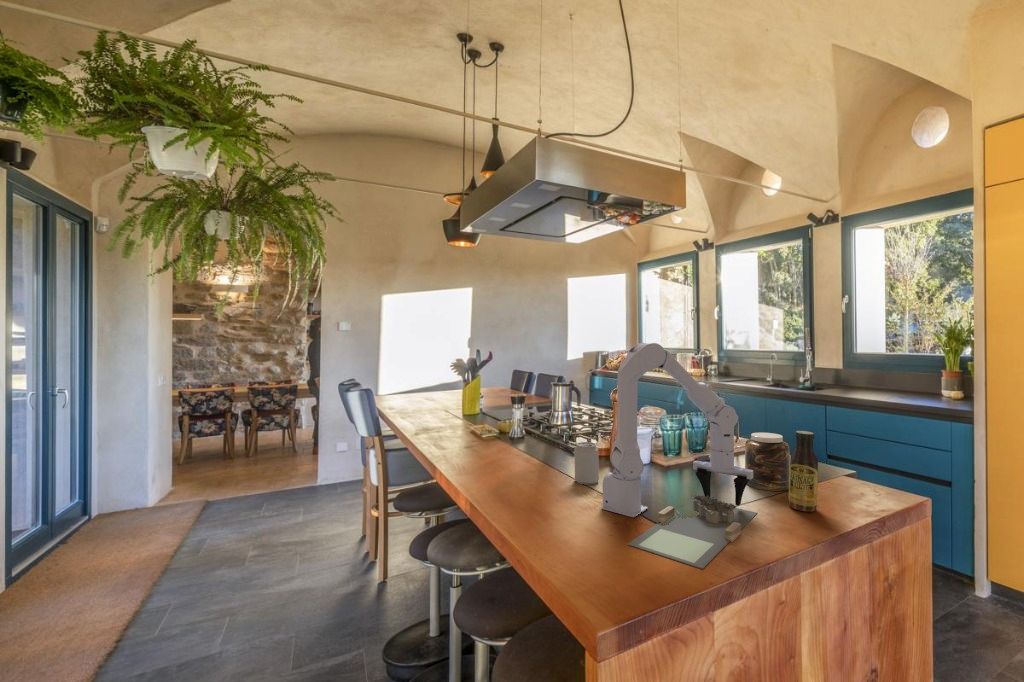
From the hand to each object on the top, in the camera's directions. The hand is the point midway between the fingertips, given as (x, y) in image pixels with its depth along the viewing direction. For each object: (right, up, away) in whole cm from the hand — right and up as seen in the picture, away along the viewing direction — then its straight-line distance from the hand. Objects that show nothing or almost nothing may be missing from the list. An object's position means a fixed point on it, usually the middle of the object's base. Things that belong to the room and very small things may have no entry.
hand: (722, 501), depth 120 cm
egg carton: (-5, -2, -6) cm, 8 cm away
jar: (+21, -1, +17) cm, 27 cm away
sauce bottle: (+20, -2, -2) cm, 20 cm away
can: (-32, -2, +23) cm, 39 cm away
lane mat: (-12, -2, -13) cm, 18 cm away
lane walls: (-12, -2, -12) cm, 17 cm away
